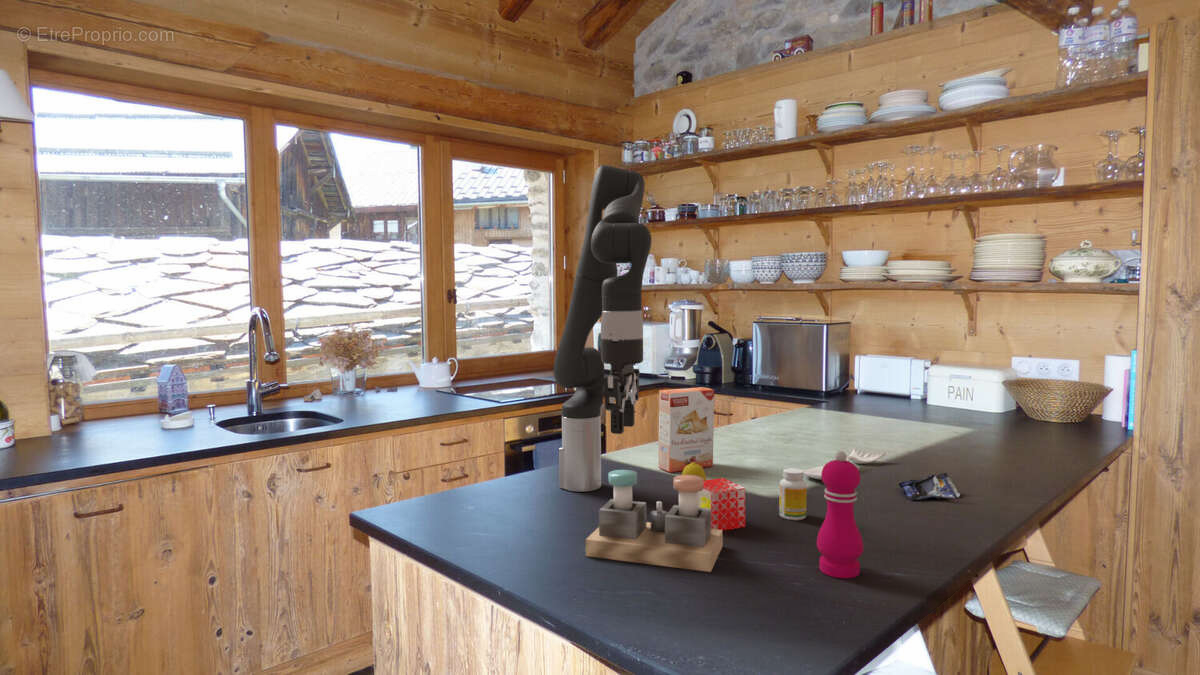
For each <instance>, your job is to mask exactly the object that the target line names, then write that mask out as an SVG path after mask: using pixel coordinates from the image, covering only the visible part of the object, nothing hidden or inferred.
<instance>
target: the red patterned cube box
mask: <svg viewBox="0 0 1200 675" xmlns="http://www.w3.org/2000/svg"><path fill="white" fill-rule="evenodd" d="M698 507H699V508H709V509H711V529H717V530H724V531H729V529H730V530H735V528H736V529H741V527H742V528H745V527H746V487H745V486H742V485H740V484H737V483H735V482H733V481H731V480H728V479H726V478H723V477H720V478H714V479H711V478H710V479H706V480H704V481H703V490H701V491H698ZM727 529H728V530H727Z"/></svg>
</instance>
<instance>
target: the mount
mask: <svg viewBox="0 0 1200 675" xmlns="http://www.w3.org/2000/svg"><path fill="white" fill-rule="evenodd" d="M667 512H668V513H667V515H666V516H665V532H654V531H652V530H651V521H650V522H649V521H647V502H646V501H635V500H632V511H626V510H616V509H614V498H610V500H608V501H606V503H605V504H604V505H603V506H602V507H600V509H599V510H598V527H597V528H596V529H595V530H594V531H593V532H591V533H590V535H588V536H587V538H585V557H591V558H597V559H606V560H614V561H621V562H630V563H639V564H644V565H645V564H646V565H652V566H654V565H655V566H661V567H667V568H668V567H669V568H676V569H677V568H679V569H684V570H692V571H693V570H694V571H700V572H707V573H708V572H709V573H711V572H712V570H713V568H714V566H715V564H716V562H717V559H718V557H719V555H720V553H721V551H722V549H723V544H724V543H723V535H724V534H723V530H717V529H711V509H709V508H699V507H698V518H695V517H685V516H679V504H674V505H673V506H671V508H670V509H669V511H667Z"/></svg>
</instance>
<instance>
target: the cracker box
mask: <svg viewBox="0 0 1200 675" xmlns="http://www.w3.org/2000/svg"><path fill="white" fill-rule="evenodd" d="M658 396H659V398H658V411H659V412H658V469H661V470H663V471H665V472H668V473H675V472H683V469H684V468H685V467H686V466H687V465H689V464H691V463H692V462H695V463H696V464H698V465H700V466H701V467H702V468H703V469H704V467H705V468H711V467H710V466H712V467H714V432H715V430H714V422H715V415H714V414H715V413H714V412H715V390H714V389H712V388H709V387H704V386H702V387H700V386H699V387H689V388H688V387H686V388H674V389H671V388H670V389H663V390H662V389H661V390H660V389H659V391H658Z"/></svg>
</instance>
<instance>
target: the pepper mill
mask: <svg viewBox="0 0 1200 675" xmlns="http://www.w3.org/2000/svg"><path fill="white" fill-rule="evenodd" d="M834 458H835V459H833V460H829V461H828V462H826V463H825V464H824V465H823V466H824V467H823V470H822V474H821V477H822V480H821V481H822V483H823V484H824V485H825V487H826V488H824V494H823V495H824V499H826V505H827V506H826V507H827V508H826V513H825V514H826V515H825V517H824V520H823V523H822V524H821V526H820V529H819V531H818V533H817V537H816V548H817V550H818V551H819V552H820V554H821V556H820V557H819V571H821V572H822V573H823V574H824V575H827V576H828V577H833V578H838V579H853V578H856V577H858V576H859V575H860V573H861V571H860V570H861V567H860V566H861V565H860V564H861V563H860V561H859V557H861V555H862V554H863V552H864V541H863V537H862V535H861V532H860V529H859V528H858V526H857V523H856V520H855V515H854V514H855V513H854V505H855V502H856V501H857V500H858V498H857V494H858V492H857V491H856V488H857V487H859V485H860V484H861V483H860V482H861V473H860V470H859V469H858V467H857V466H856V465H855V464H853V463H854V462H852V461H850V462H849V461H845V460H846V458H847V454H846V452H845V451H843V450H839V451H837V452H836V453H835V457H834Z"/></svg>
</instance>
